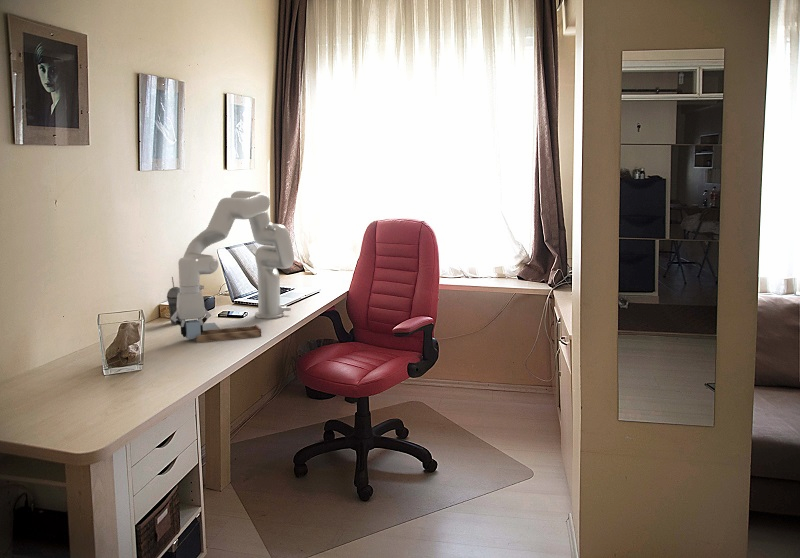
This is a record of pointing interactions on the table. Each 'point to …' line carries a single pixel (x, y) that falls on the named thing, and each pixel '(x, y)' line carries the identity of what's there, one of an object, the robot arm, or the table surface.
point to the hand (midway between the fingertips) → (192, 334)
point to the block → (192, 328)
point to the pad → (210, 326)
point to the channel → (229, 333)
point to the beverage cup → (173, 301)
